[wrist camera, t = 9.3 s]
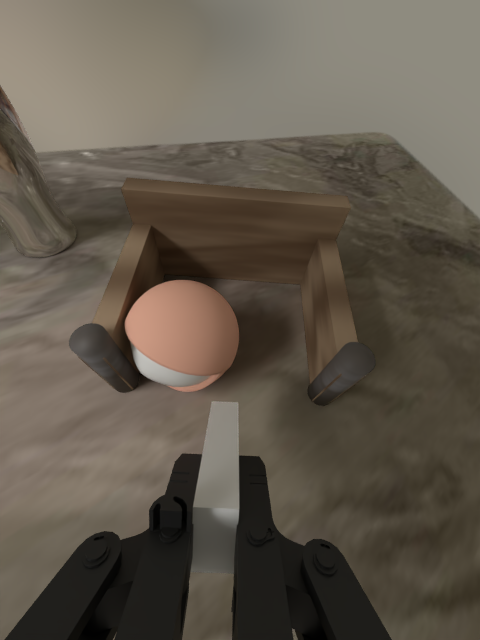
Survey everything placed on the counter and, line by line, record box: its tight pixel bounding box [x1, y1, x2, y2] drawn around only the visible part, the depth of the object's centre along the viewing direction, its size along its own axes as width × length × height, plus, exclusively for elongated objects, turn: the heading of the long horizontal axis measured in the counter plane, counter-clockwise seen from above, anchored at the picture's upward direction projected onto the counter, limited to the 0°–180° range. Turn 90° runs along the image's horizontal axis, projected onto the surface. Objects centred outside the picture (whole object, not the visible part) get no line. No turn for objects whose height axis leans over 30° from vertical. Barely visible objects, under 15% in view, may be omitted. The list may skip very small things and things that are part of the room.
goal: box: [69, 178, 375, 405], centre depth 20 cm, size 14×18×9 cm
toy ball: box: [125, 280, 239, 392], centre depth 19 cm, size 8×8×8 cm
